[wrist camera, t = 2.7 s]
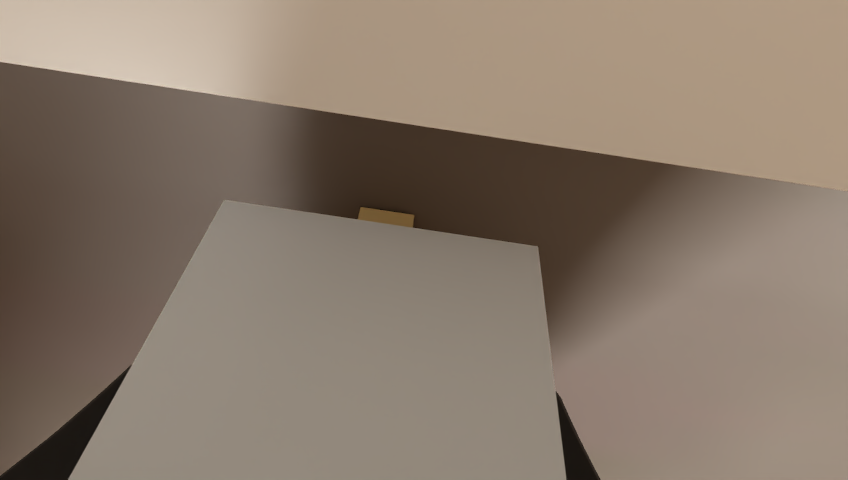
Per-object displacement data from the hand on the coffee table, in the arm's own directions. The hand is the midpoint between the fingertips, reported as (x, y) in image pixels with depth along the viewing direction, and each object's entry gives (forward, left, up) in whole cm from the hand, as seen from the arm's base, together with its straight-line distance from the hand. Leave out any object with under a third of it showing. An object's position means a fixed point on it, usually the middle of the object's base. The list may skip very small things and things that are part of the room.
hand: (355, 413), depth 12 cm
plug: (0, 0, -3) cm, 3 cm away
